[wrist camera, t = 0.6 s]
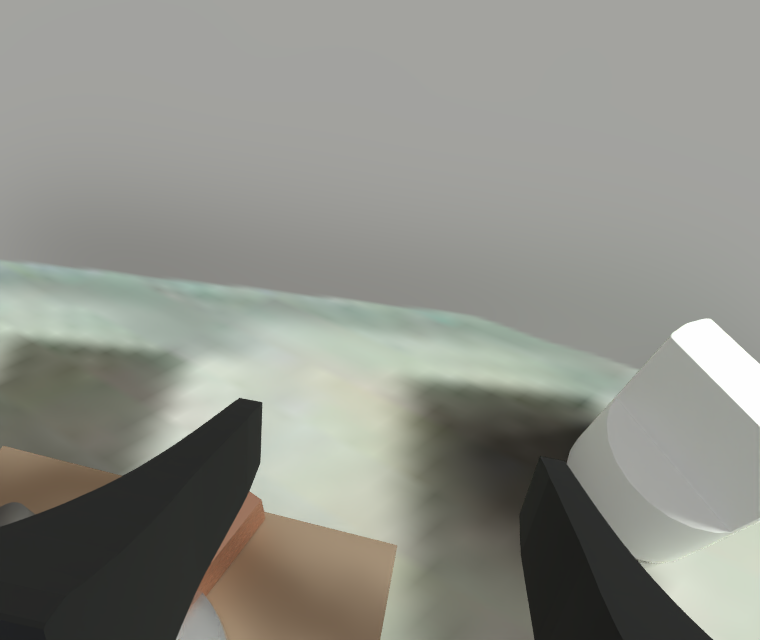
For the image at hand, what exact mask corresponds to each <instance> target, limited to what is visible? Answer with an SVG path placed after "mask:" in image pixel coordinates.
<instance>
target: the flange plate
mask: <svg viewBox="0 0 760 640" xmlns="http://www.w3.org/2000/svg"><path fill="white" fill-rule="evenodd" d="M264 520H265V514H264V510H263V505H262V501H261V499H259V498H258V497H257V496H255V495H254V494H252V493H251V492H250V491H249V493H248V495H247V497H246V499H245V501H244V503H243V505H242V507H241V509H240V511H239V512H238V514H237V516H236V518H235V520H234V522H233V524H232V525H231V527H230V529H229V531H228V533H227V535H226V536H225V538H224V540H223V542H222V544H221V546H220V547H219V549H218V551H217V553H216V555H215V556H214V558H213V560H212V562H211V564H210V566H209V567H208V569H207V571H206V573H205V575H204V577H203V579H202V581H201V583H200V585H199V587H198V589H197V591H196V593H195V596H194V598H193V600H192V603H191V605H190V607H189V610H188V612H187V615H186V617H185V619H184V622H183V624H182V626H181V629H180V631H179V633H178V636H177V638H176V640H228V639H227V635H226V632H225V630H224V627H223V624H222V622H221V619H220V618H219V616H218V614H217V612H216V610H215V609H214V607H213V605H212V604H211V603H210V602H209V600H208V599H207V598H206V596H207V595H208V593H209V592H210V591H211V589H212V588H213V587H214V585H215V584H216V583H217V582H218V580H219V579H220V578H221V576H222V575H223V574H224V572H225V571H226V570H227V569H228V567H229V566H230V565H231V563H232V562H233V561H234V559H235V558H236V557H237V556H238V554H239V553H240V552H241V550H242V549H243V548H244V546H245V545H246V544H247V542H248V541H249V540H250V539H251V537H252V536H253V535H254V533H255V532H256V531H257V529H258V528H259V527H260V526H261V524H262V523H263V522H264Z"/></svg>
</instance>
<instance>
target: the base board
mask: <svg viewBox="0 0 760 640" xmlns="http://www.w3.org/2000/svg"><path fill="white" fill-rule="evenodd" d="M120 477H121V476H120V475H117V474H113V473H109V472H105V471H101V470H97V469H93V468H89V467H85V466H81V465H77V464H73V463H69V462H65V461H61V460H57V459H53V458H49V457H45V456H41V455H37V454H33V453H29V452H26V451H22V450H18V449H14V448H10V447H6V446H3V447H2V448H1V449H0V527H1V526H4V525H7V524H10V523H13V522H16V521H19V520H22V519H24V518H27V517H30V516H33V515H35V514H38V513H41V512H43V511H46V510H49V509H51V508H54V507H56V506H59V505H61V504H64V503H66V502H68V501H70V500H73V499H75V498H77V497H79V496H82V495H84V494H86V493H88V492H91V491H93V490H95V489H97V488H100V487H102V486H104V485H106V484H108V483H110V482H112V481H114V480H116V479H118V478H120ZM264 514H265V520H264V522H263V523H262V524H261V526H260V527H259V528H258V529H257V531H256V532H255V533H254V535H253V536H252V537H251V539H250V540H249V541H248V542H247V544H246V545H245V546H244V548H243V549H242V550H241V552H240V553H239V554H238V556H237V557H236V558H235V559H234V561H233V562H232V563H231V565H230V566H229V567H228V569H227V570H226V571H225V572H224V574H223V575H222V576H221V578H220V579H219V580H218V582H217V583H216V584H215V585H214V587H213V588H212V589H211V591H210V592H209V593H208V595H207V596H206V598H207V599H208V600H209V602H210V603H211V604H212V605H213V607H214V609H215V610H216V612H217V614H218V616H219V618H220V619H221V622H222V624H223V627H224V630H225V632H226V635H227V639H228V640H380V637H381V632H382V626H383V621H384V615H385V610H386V604H387V599H388V593H389V588H390V582H391V577H392V571H393V566H394V560H395V555H396V549H397V545H393V544H390V543H386V542H382V541H378V540H374V539H370V538H366V537H362V536H358V535H354V534H350V533H346V532H342V531H338V530H334V529H330V528H326V527H322V526H318V525H314V524H310V523H306V522H302V521H299V520H295V519H291V518H287V517H283V516H279V515H275V514H271V513H267V512H264Z"/></svg>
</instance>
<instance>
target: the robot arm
mask: <svg viewBox="0 0 760 640" xmlns="http://www.w3.org/2000/svg"><path fill="white" fill-rule="evenodd" d="M261 426H262V402H258V401H252V400H247V399H242V398H239V399H238V400H236V401H235V402H233V403H232V404H230V405H229V406H228V407H226V408H225V409H224V410H222V411H221V412H220V413H218V414H217V415H216V416H214V417H213V418H212V419H210V420H209V421H208V422H206V423H205V424H203V425H202V426H201V427H199V428H198V429H197V430H195V431H194V432H192V433H191V434H189V435H188V436H187V437H185V438H184V439H182V440H181V441H179V442H178V443H176V444H175V445H173V446H172V447H170V448H169V449H167V450H166V451H164V452H162V453H161V454H159V455H158V456H156V457H155V458H153V459H151V460H150V461H148V462H147V463H145V464H143V465H141V466H140V467H138V468H136V469H135V470H133V471H131V472H129V473H127V474H125V475H123V476H121V477H120V478H118V479H116V480H114V481H112V482H110V483H108V484H106V485H104V486H102V487H100V488H97V489H95V490H93V491H91V492H88V493H86V494H84V495H82V496H79V497H77V498H75V499H73V500H70V501H68V502H66V503H64V504H61V505H59V506H56V507H54V508H51V509H49V510H46V511H43V512H41V513H38V514H35V515H33V516H30V517H27V518H24V519H22V520H19V521H16V522H13V523H10V524H7V525H4V526H1V527H0V640H176V638H177V636H178V633H179V631H180V629H181V626H182V624H183V622H184V619H185V617H186V615H187V612H188V610H189V607H190V605H191V603H192V600H193V598H194V596H195V593H196V591H197V589H198V587H199V585H200V583H201V581H202V579H203V577H204V575H205V573H206V571H207V569H208V567H209V566H210V564H211V562H212V560H213V558H214V556H215V555H216V553H217V551H218V549H219V547H220V546H221V544H222V542H223V540H224V538H225V536H226V535H227V533H228V531H229V529H230V527H231V525H232V524H233V522H234V520H235V518H236V516H237V514H238V512H239V511H240V509H241V507H242V505H243V503H244V501H245V499H246V497H247V495H248V493H249V490H250V488H251V485H252V483H253V480H254V478H255V475H256V472H257V470H258V467H259V465H260V457H261ZM520 545H521V558H522V565H523V571H524V577H525V584H526V590H527V596H528V602H529V608H530V614H531V621H532V627H533V633H534V639H535V640H713V639H712V638H711V637H710V636H708V635H707V634H706V633H705V632H704V631H703V630H702V629H701V628H700V627H699V626H698V625H697V624H696V623H695V622H694V621H693V620H692V619H691V618H690V617H689V616H688V615H687V614H686V613H685V612H684V611H683V610H682V609H681V608H680V607H679V606H678V605H677V604H676V603H675V602H674V601H673V600H672V599H671V598H670V597H669V596H668V595H667V594H666V593H665V591H664V590H663V589H662V588H661V587H660V586H659V585H658V584H657V583H656V582H655V581H654V580H653V578H652V577H651V576H650V575H649V574H648V573H647V572H646V570H645V569H644V568H643V567H642V566H641V565H640V563H639V562H638V561H637V560H636V558H635V557H634V556H633V555H632V554H631V552H630V551H629V550H628V549H627V547H626V546H625V545H624V544H623V542H622V541H621V540H620V539H619V537H618V536H617V535H616V533H615V532H614V531H613V529H612V528H611V527H610V525H609V524H608V523H607V521H606V520H605V519H604V517H603V516H602V514H601V513H600V512H599V510H598V509H597V507H596V506H595V505H594V503H593V502H592V500H591V499H590V497H589V496H588V494H587V493H586V491H585V490H584V489H583V487H582V486H581V484H580V483H579V481H578V480H577V478H576V477H575V475H574V474H573V472H572V471H571V469H570V468H569V466H568V465H567V464H566V462H565V461H562V460H557V459H552V458H547V457H541V456H540V458H539V461H538V464H537V467H536V470H535V472H534V475H533V478H532V481H531V484H530V487H529V489H528V492H527V495H526V498H525V501H524V504H523V506H522V509H521V512H520Z"/></svg>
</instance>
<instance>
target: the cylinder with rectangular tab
mask: <svg viewBox="0 0 760 640" xmlns="http://www.w3.org/2000/svg"><path fill="white" fill-rule="evenodd" d="M567 465H568V466H569V468H570V469H571V471H572V472H573V474H574V475H575V477H576V478H577V480H578V481H579V483H580V484H581V486H582V487H583V489H584V490H585V491H586V493H587V494H588V496H589V497H590V499H591V500H592V502H593V503H594V505H595V506H596V507H597V509H598V510H599V512H600V513H601V514H602V516H603V517H604V519H605V520H606V521H607V523H608V524H609V525H610V527H611V528H612V529H613V531H614V532H615V533H616V535H617V536H618V537H619V539H620V540H621V541H622V542H623V544H624V545H625V546H626V547H627V549H628V550H629V551H630V552H631V554H632V555H633V556H634V557H635V558H636V559H637V560H642V561H646V562H651V563H667V562H674V561H677V560H679V559H681V558H684V557H686V556H688V555H691V554H693V553H695V552H697V551H699V550H701V549H703V548H705V547H707V546H710V545H712V544H714V543H716V542H718V541H720V540H722V539H724V538H727V537H729V536H731V535H733V534H735V533H737V532H739V531H741V530H743V529H746V528H748V527H750V526H752V525H754V524H756V523H758V522H760V364H759V363H758V362H757V361H755V360H754V359H753V358H752V357H751V356H750V355H749V354H748V353H747V352H746V351H745V350H744V349H743V348H742V347H740V346H739V345H738V344H737V343H736V342H735V341H734V340H733V339H732V338H731V337H730V336H728V335H727V333H725V332H724V331H723V330H722V329H721V328H720V327H719V326H718V325H717V324H716V323H715V322H714V321H712V320H711V319H702V320H698V321H694V322H690V323H687V324H685V325H684V326H682V327H681V328H679V329H678V330H676V331H675V332H673V333H672V335H671V336H670V337H669V338H668V339H667V340H666V341H665V342H664V343H663V344H662V346H661V347H660V348H659V349H658V350H657V351H656V352H655V353H654V354H653V356H652V357H651V358H650V359H649V360H648V361H647V362H646V364H645V365H644V366H643V367H642V368H641V369H640V370H639V371H638V372H637V373H636V374H635V376H634V377H633V378H632V379H631V380H630V381H629V382H628V383H627V384H626V386H625V387H624V388H623V389H622V390H621V391H620V392H619V393H618V394H617V396H616V397H615V398H614V399H613V400H612V401H611V402H610V403H609V404H608V406H607V407H606V408H605V409H604V410H603V411H602V412H601V413H600V414H599V416H598V417H597V418H596V419H595V420H594V421H593V422H592V423H591V424H590V426H589V427H588V428H587V429H586V430H585V431H584V432H583V433H582V434H581V436H580V437H579V438H578V439H577V441H576V442H575V444H574V445H573V447H572V448H571V450H570V453H569V456H568V460H567Z"/></svg>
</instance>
